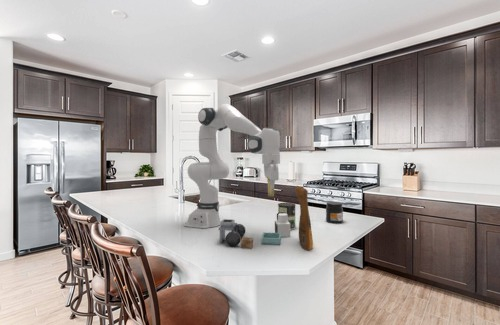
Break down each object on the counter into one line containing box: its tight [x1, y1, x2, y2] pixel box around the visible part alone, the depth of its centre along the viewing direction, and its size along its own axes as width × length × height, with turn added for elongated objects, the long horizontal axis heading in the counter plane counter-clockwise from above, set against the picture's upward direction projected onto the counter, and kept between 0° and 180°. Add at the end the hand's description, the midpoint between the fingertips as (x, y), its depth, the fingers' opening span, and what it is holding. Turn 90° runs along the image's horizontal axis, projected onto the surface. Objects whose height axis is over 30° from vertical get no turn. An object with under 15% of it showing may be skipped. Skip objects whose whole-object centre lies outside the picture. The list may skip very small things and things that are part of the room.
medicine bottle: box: [274, 212, 291, 238], centre depth 135 cm, size 7×7×12 cm
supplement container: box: [325, 201, 344, 224], centre depth 161 cm, size 10×10×12 cm
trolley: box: [218, 218, 246, 248], centre depth 126 cm, size 11×15×10 cm
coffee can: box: [277, 202, 296, 231], centre depth 149 cm, size 10×10×14 cm
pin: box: [266, 176, 275, 197], centre depth 124 cm, size 4×4×10 cm
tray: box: [261, 231, 282, 246], centre depth 125 cm, size 9×9×3 cm
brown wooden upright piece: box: [294, 185, 314, 251], centre depth 120 cm, size 7×19×28 cm, turn 177°
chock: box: [240, 236, 254, 250], centre depth 118 cm, size 5×4×4 cm
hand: (271, 187), depth 125 cm, fingers closed on pin, 3 cm apart
